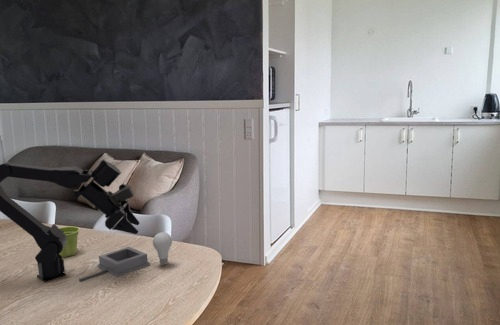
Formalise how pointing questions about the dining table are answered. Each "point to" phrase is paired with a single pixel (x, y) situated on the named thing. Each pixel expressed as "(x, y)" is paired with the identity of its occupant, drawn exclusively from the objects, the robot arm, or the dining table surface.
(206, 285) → the dining table surface
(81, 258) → the dining table surface
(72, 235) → the plant pot
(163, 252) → the lightbulb
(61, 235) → the robot arm
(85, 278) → the grey square pan
